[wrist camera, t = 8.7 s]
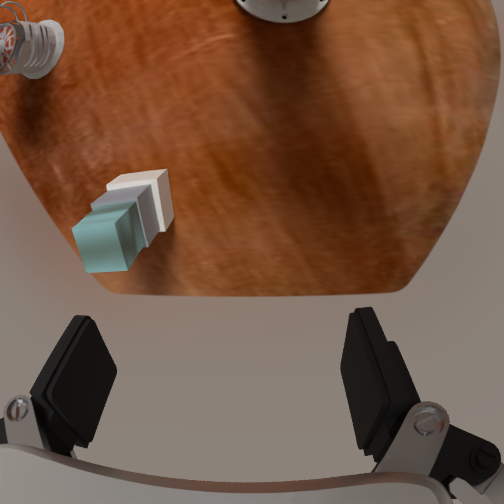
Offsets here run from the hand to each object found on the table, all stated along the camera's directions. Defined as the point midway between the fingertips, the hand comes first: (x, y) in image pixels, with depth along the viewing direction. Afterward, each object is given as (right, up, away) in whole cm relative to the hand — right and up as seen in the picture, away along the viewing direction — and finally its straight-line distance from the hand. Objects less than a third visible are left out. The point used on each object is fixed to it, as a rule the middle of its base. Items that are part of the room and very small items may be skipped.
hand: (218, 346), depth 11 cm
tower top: (-14, +9, +27) cm, 31 cm away
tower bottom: (-13, +11, +31) cm, 36 cm away
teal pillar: (-14, +6, +22) cm, 27 cm away
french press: (-30, +34, +19) cm, 49 cm away
